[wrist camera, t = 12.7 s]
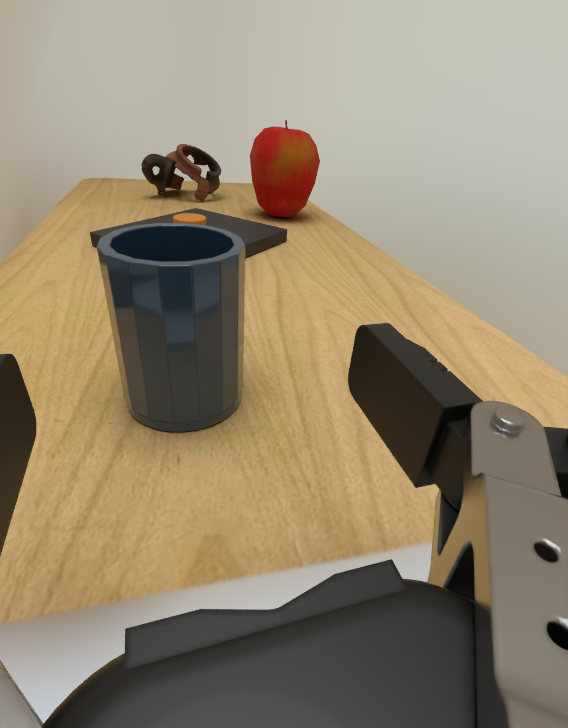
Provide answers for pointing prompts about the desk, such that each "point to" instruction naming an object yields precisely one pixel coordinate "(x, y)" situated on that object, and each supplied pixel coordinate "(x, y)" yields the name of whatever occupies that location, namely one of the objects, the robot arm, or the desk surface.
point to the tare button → (189, 218)
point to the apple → (283, 169)
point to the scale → (250, 232)
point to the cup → (176, 321)
